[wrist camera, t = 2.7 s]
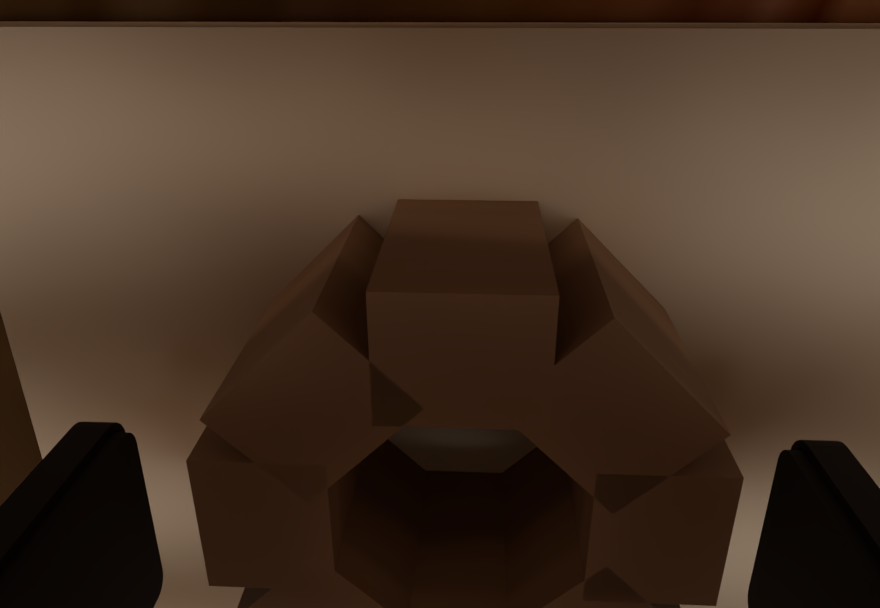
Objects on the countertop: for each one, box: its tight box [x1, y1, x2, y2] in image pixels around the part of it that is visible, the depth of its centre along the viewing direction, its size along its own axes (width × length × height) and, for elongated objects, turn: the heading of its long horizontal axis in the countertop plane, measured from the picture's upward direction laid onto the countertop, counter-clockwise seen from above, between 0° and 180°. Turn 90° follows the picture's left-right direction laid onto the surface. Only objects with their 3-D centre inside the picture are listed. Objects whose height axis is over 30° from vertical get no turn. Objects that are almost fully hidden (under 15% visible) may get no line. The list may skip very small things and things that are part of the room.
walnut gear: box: [186, 199, 744, 608], centre depth 11 cm, size 7×7×4 cm
